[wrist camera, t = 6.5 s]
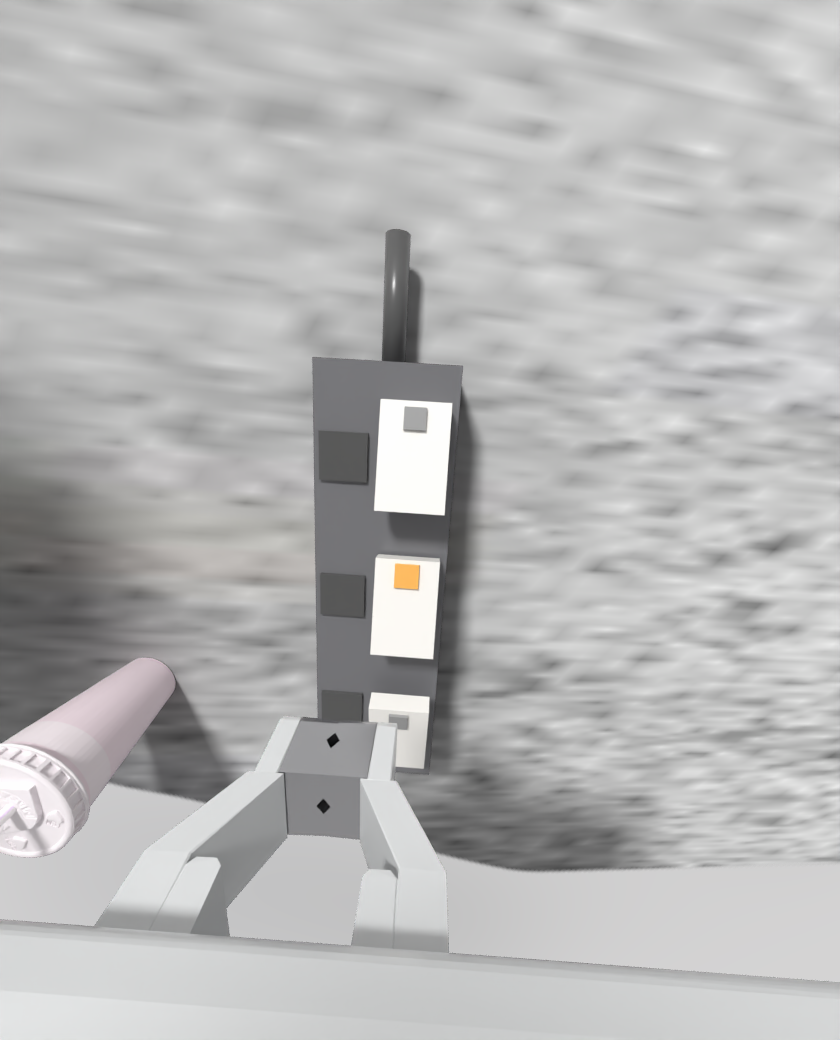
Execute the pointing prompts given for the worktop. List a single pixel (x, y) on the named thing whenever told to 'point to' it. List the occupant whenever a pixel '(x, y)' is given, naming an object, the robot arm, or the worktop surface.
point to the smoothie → (74, 757)
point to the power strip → (371, 510)
